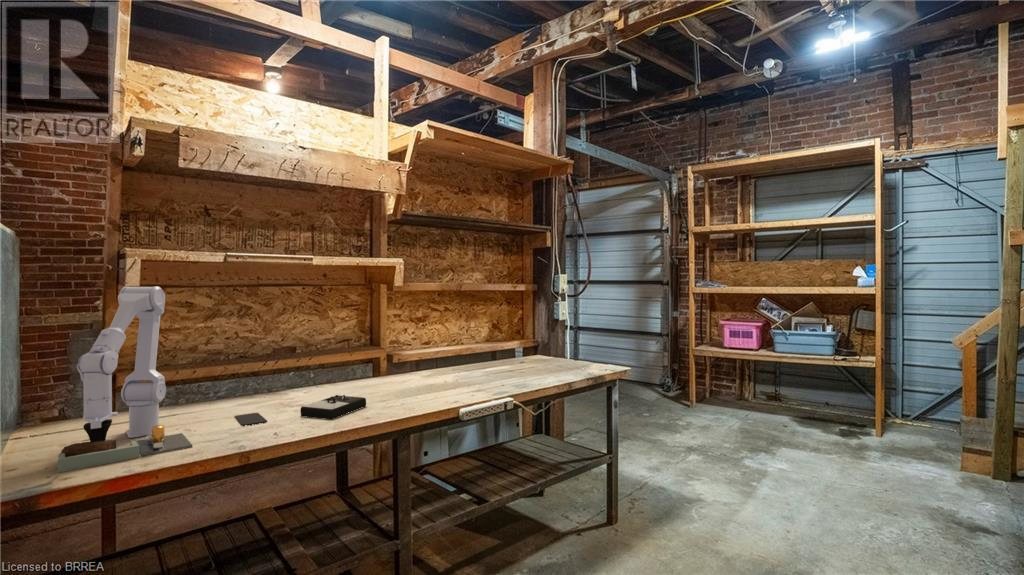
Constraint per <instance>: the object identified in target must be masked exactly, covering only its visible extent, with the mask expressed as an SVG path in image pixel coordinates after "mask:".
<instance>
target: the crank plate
mask: <svg viewBox="0 0 1024 575" xmlns="http://www.w3.org/2000/svg"><path fill="white" fill-rule="evenodd" d="M136 441H137V443H138V445H139V453H140V454H141V456H142V457H148V456H150V455H157V454H163V452H164V453H167V452H169V453H170V452H174V451H179V450H183V448H185V449H189V448H188V447H190V448H193V444H192V443H191V441H190V440H188V438H187V437H186V436H185V435H184V433H182V432H180V433H175V434H174V433H173V434H167V435H164V441H163V447H159V448H153V445H152V443H148V442H147V438H145V439H140V440H136ZM173 450H174V451H173Z"/></svg>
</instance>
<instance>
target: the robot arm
mask: <svg viewBox="0 0 1024 575" xmlns="http://www.w3.org/2000/svg"><path fill="white" fill-rule="evenodd" d="M117 303H118V305H119V306H118V307H117V310H116V312H115V314H114V317H113V319H112V321H111V323H110V325H109V327H107V328H104V329H102V330H101V332H100V333H99V335H97V336H98V337H97V338H96V340H95V342H94V343H93V345H92V347H91V348H90V350H89V352H86V353H83V355H81V356H80V357H79V359H78V362H77V364H76V369H77V372H78V373H79V375H80V380H81V382H83V415H82V420H83V422H87V423H85V424H83V430H84V431H85V432H86V434H87V436H88V438H89V442H93V441H107V434H108V432H109V429H110V427H111V425H112V423H113V419H112V417H116V416H118V411H113V391H112V390H113V387H112V386H113V383H112V382H113V381H112V380H113V379H112V377H113V372H115V371H116V369H117V367H118V359H119V356H120V355H119V351H120V350H121V349H122V346H123V344H124V343H125V341H126V339H127V335H126V333H125V331H126V330H127V329H128V327H129V326H130V324H131V323H132V321H133V320H134V318H135V317H137V318H138V320H139V321H138V331H137V340H136V341H137V342H136V351H135V361H134V371H133V372H131V373H130V374H129V375H127V376H126V377H125V378H124V382H123V386H122V388H121V391H120V396H121V399H122V401H123V402H124V403H125V405H126V406H128V429H126V430H125V433H126V436H127V437H128V438H129V439H133V438H138V437H147V435H150V434H152V427H153V426H158V425H159V424H160V420H159V419H160V416H159V415H160V411H159V410H160V408H159V407H160V405H159V404H160V402H161V403H162V401H163V399H164V398H165V396H166V393H167V385H166V379H165V378H166V377H165V376H164V375H163V374H162V373H160V372H159V371H157V370H156V368H157V357H158V347H159V346H158V345H159V337H160V336H159V335H160V332H159V331H160V326H161V325H160V323H161V316H162V315H163V314H165V313H164V312H165V305H166V294H165V292H164V291H163V289H162V288H161V287H160V286H123V287H122V288H121V289H120V291H119V293H118V294H117ZM148 380H149V381H148Z"/></svg>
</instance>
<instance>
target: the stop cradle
mask: <svg viewBox="0 0 1024 575" xmlns="http://www.w3.org/2000/svg"><path fill="white" fill-rule="evenodd" d="M137 441H138V440H133V441H130V445H129V446H123V447H116V449H110V450H105V451H99V452H93V453H87V454H82V455H76V456H70V457H65V453H61V452H60V453H61V454H60V453H58V454H57V457H58V458H57V473H63V472H69V471H73V470H79V469H84V468H88V467H94V466H100V465H105V464H112V463H115V462H120V461H126V460H130V459H131V460H132V459H136V458H140V450H139V445H138V443H137Z"/></svg>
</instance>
